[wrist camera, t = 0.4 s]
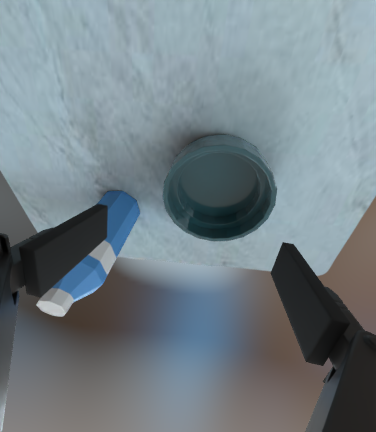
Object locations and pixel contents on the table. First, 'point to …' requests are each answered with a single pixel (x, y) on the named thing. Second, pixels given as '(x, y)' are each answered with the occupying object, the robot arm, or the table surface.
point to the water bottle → (94, 257)
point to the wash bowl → (219, 188)
